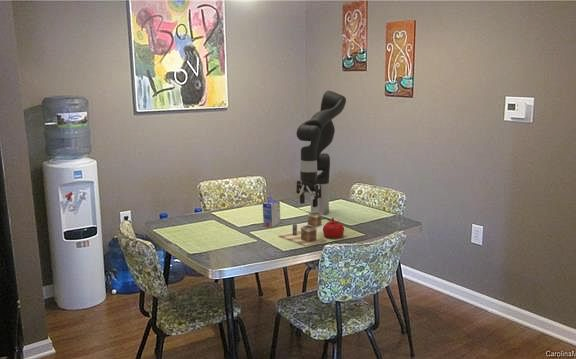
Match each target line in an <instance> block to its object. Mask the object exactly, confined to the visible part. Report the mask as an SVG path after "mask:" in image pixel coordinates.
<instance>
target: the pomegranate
mask: <svg viewBox="0 0 576 359" xmlns="http://www.w3.org/2000/svg"><path fill="white" fill-rule="evenodd" d="M344 233H345V226H344V225H343V223H341V222H340V221H338V220H336V221H335V218H333V217H331V220H329V221H327V222H326V223H325V224H324V227H323V232H322V234H323V236H324V237H325V238H328V239H340V238H342V236H343V235H344Z"/></svg>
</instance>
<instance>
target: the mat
mask: <svg viewBox="0 0 576 359" xmlns="http://www.w3.org/2000/svg"><path fill="white" fill-rule="evenodd" d="M306 225H308V222H307V223H306V222H305V223H302V224H299V225H297V230H299V231H301V227H302V226H306ZM324 226H325V224H321V225H319V226H318V227H317V234H320V233H323V227H324Z"/></svg>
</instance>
